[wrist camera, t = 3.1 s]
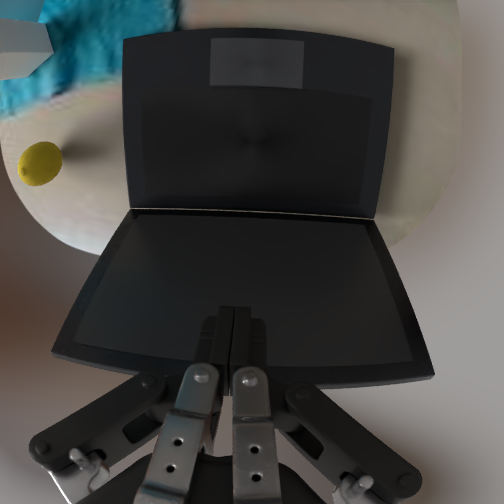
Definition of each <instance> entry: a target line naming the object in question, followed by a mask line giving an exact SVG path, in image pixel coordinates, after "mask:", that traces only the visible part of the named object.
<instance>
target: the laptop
mask: <svg viewBox="0 0 504 504" xmlns="http://www.w3.org/2000/svg"><path fill="white" fill-rule="evenodd" d="M393 70H394V48H391V47H387V46H383V45H379V44H375V43H371V42H366V41H361V40H357V39H352V38H346V37H341V36H335V35H328V34H321V33H314V32H305V31H296V30H284V29H268V28H210V29H194V30H182V31H173V32H164V33H157V34H150V35H144V36H138V37H132V38H127V39H123V62H122V108H123V134H124V150H125V164H126V175H127V185H128V195H129V203H130V208H182V209H218V210H244V211H266V212H284V213H301V214H317V215H331V216H345V217H357V218H369V219H374V217H375V212H376V207H377V202H378V196H379V191H380V185H381V179H382V173H383V166H384V160H385V153H386V146H387V138H388V129H389V120H390V111H391V99H392V86H393Z"/></svg>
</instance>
